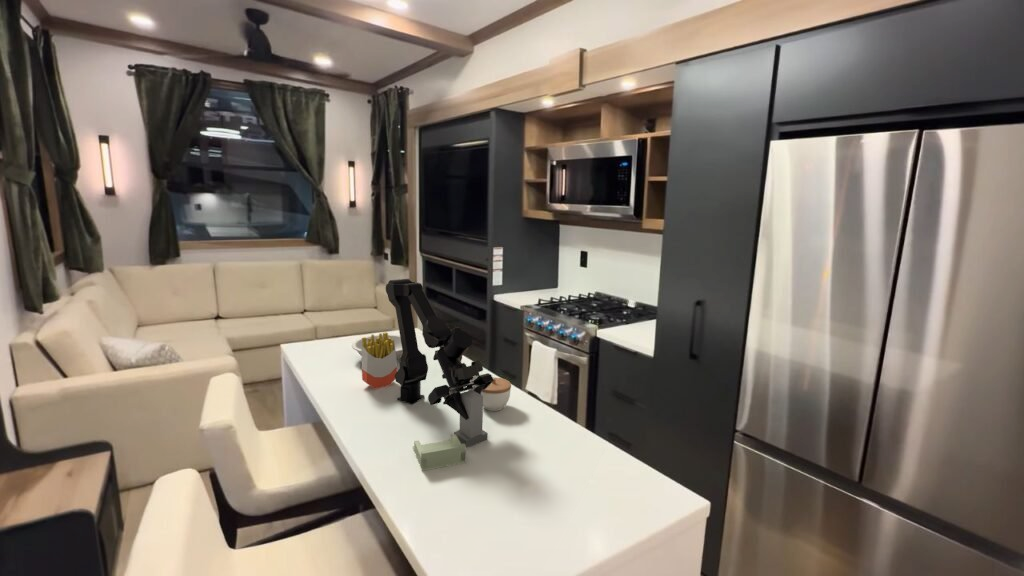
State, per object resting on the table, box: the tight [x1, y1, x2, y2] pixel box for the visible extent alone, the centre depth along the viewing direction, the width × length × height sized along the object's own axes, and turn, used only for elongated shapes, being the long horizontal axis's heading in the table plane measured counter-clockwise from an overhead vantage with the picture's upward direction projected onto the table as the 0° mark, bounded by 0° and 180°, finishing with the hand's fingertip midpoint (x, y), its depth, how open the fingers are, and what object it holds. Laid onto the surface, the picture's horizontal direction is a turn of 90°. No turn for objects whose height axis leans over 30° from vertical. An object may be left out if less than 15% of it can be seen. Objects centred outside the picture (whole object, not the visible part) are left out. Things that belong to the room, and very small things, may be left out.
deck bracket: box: [412, 433, 467, 472], centre depth 119 cm, size 11×11×4 cm
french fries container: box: [361, 331, 398, 390], centre depth 161 cm, size 5×11×18 cm, turn 129°
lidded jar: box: [481, 377, 512, 412], centre depth 148 cm, size 11×11×9 cm
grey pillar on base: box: [453, 390, 489, 449], centre depth 127 cm, size 6×7×13 cm
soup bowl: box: [351, 334, 403, 360], centre depth 189 cm, size 24×24×7 cm
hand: (474, 417), depth 126 cm, fingers closed on grey pillar on base, 4 cm apart
